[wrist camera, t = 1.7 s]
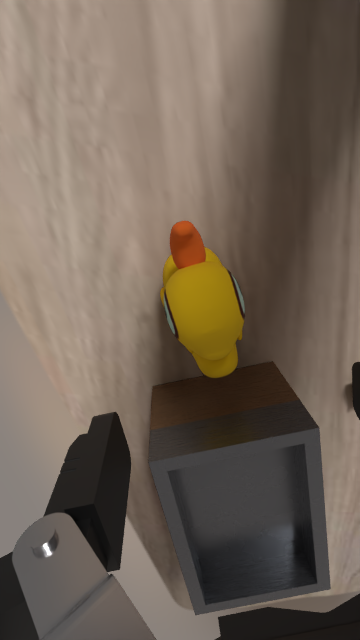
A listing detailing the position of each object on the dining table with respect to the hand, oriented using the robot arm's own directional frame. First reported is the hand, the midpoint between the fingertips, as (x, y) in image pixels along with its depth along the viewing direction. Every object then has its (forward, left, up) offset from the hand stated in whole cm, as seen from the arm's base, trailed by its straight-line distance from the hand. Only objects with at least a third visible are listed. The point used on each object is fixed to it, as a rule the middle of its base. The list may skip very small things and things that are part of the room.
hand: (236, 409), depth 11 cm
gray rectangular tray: (0, +16, -16) cm, 23 cm away
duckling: (0, 0, -17) cm, 17 cm away
